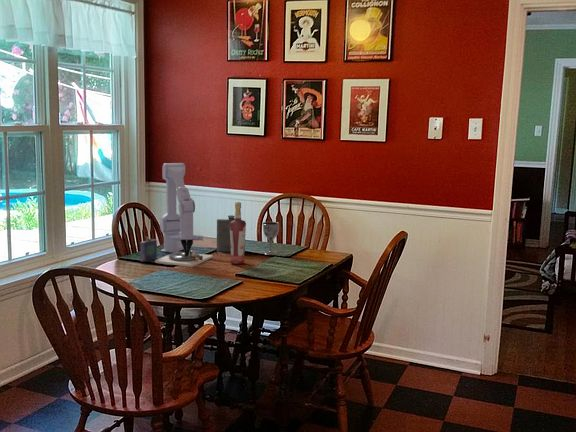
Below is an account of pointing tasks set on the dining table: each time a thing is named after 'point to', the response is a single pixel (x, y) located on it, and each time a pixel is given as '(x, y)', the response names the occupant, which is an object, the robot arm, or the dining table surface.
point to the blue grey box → (148, 249)
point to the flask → (224, 234)
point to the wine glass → (270, 234)
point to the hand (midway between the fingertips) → (186, 256)
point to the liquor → (237, 237)
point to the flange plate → (181, 256)
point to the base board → (183, 263)
